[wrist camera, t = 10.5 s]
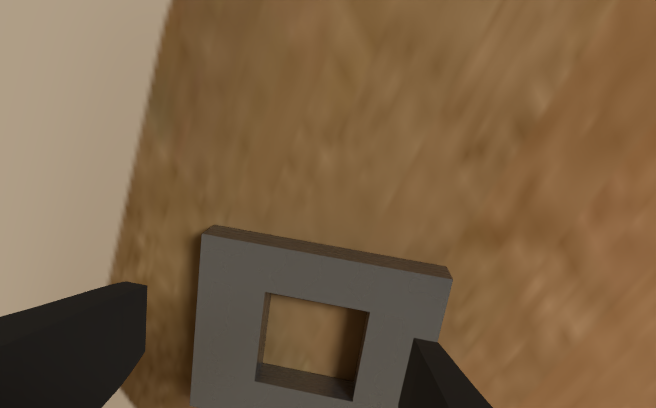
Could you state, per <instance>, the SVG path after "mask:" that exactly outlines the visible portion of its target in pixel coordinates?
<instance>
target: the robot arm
mask: <svg viewBox="0 0 656 408" xmlns="http://www.w3.org/2000/svg"><path fill="white" fill-rule="evenodd" d="M146 309H147V286H146V285H141V284H136V283H131V282H121V283H116V284H112V285H108V286H105V287H101V288H98V289H94V290H91V291H87V292H84V293H81V294H77V295H74V296H71V297H67V298H64V299H61V300H57V301H54V302H51V303H48V304H44V305H41V306H38V307H34V308H31V309H27V310H24V311H20V312H16V313H13V314H9V315H6V316H2V317H0V408H102V407H103V405H104V404H105V403H106V402H107V401H108V400H109V399H110V398H111V396H112V395H113V394H114V393H115V392H116V391H117V390H118V389H119V387H120V386H121V385H122V384H123V382H124V381H125V380H126V378H127V377H128V376H129V374H130V373H131V371H132V370H133V369H134V367H135V366H136V364H137V363H138V361H139V360H140V358H141V357H142V355H143V354H144V352H145V339H146ZM398 408H493V407H492V406H491V405H490V404H489V403H488V402H487V401H486V399H485V398H484V397H483V396H482V395H481V394H480V393H479V391H478V390H477V389H476V388H475V387H474V385H473V384H472V383H471V382H470V381H469V380H468V378H467V377H466V376H465V375H464V373H463V372H462V371H461V370H460V369H459V367H458V366H457V365H456V364H455V362H454V361H453V360H452V359H451V358H450V356H449V355H448V354H447V353H446V351H445V350H444V349H443V348H442V347H441V346H440V344H439V343H438V342H433V341H428V340H423V339H418V338H414V339H413V343H412V347H411V352H410V356H409V360H408V364H407V369H406V373H405V377H404V381H403V386H402V390H401V394H400V399H399V403H398Z"/></svg>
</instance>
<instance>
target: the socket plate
mask: <svg viewBox="0 0 656 408" xmlns="http://www.w3.org/2000/svg"><path fill="white" fill-rule="evenodd" d="M452 282H453V279H452V277H451V275H450V273H449V271H448V269H447V267H445V266H439V265H434V264H428V263H423V262H417V261H412V260H406V259H400V258H395V257H389V256H384V255H378V254H373V253H367V252H362V251H356V250H351V249H345V248H340V247H334V246H329V245H323V244H318V243H312V242H306V241H301V240H295V239H290V238H284V237H279V236H273V235H268V234H262V233H257V232H251V231H246V230H240V229H235V228H229V227H223V226H218V225H213V226H212V227H211V228H209V229H208V230H206V231H205V232H203V233H202V238H201V252H200V266H199V280H198V295H197V309H196V323H195V337H194V351H193V366H192V380H191V394H190V406H193V407H198V408H398V403H399V399H400V394H401V390H402V386H403V381H404V377H405V373H406V369H407V364H408V360H409V356H410V352H411V347H412V343H413V339H414V338H418V339H423V340H428V341H433V342H437V341H438V337H439V333H440V329H441V325H442V321H443V317H444V313H445V309H446V305H447V301H448V297H449V293H450V289H451V286H452ZM271 293H274V294H279V295H284V296H289V297H295V298H300V299H305V300H310V301H315V302H321V303H326V304H331V305H336V306H341V307H347V308H352V309H357V310H362V311H367V316H366V322H365V327H364V332H363V337H362V342H361V347H360V352H359V357H358V362H357V368H356V373H355V378H354V382H352V381H347V380H343V379H338V378H333V377H328V376H323V375H318V374H314V373H309V372H304V371H299V370H294V369H289V368H284V367H280V366H275V365H270V364H265V363H262V362H263V354H264V346H265V338H266V330H267V322H268V314H269V306H270V298H271Z"/></svg>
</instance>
